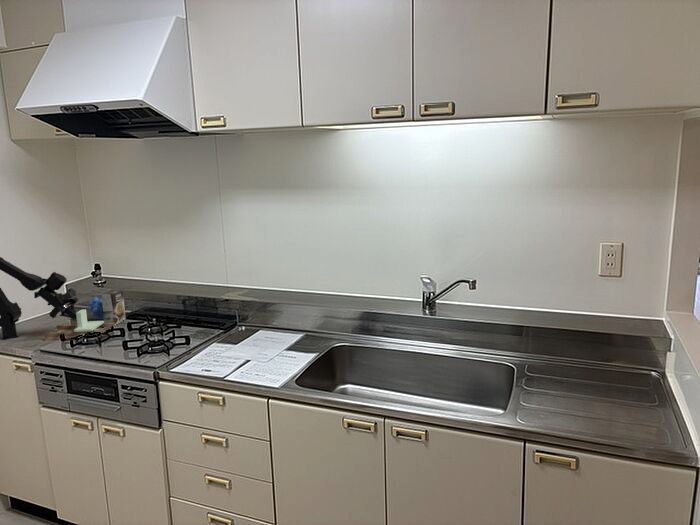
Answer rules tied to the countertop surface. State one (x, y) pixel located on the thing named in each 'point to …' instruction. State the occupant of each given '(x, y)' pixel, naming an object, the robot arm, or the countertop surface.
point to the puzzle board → (72, 331)
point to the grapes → (96, 308)
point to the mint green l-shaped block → (85, 322)
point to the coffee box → (113, 307)
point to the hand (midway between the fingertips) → (79, 318)
